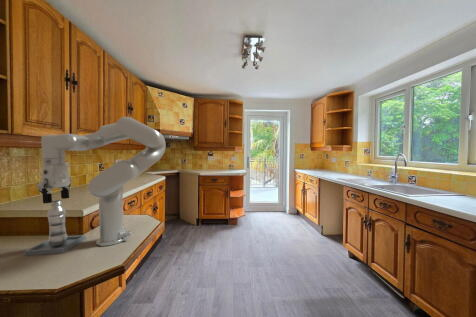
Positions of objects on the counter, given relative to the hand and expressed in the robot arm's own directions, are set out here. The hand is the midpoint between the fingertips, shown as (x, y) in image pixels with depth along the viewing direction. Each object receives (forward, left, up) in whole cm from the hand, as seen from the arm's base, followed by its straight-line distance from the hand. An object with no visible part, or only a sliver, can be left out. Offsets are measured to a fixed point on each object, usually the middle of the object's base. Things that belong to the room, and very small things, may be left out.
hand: (56, 200), depth 91 cm
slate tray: (0, 0, -21) cm, 21 cm away
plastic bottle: (0, 0, -20) cm, 20 cm away
